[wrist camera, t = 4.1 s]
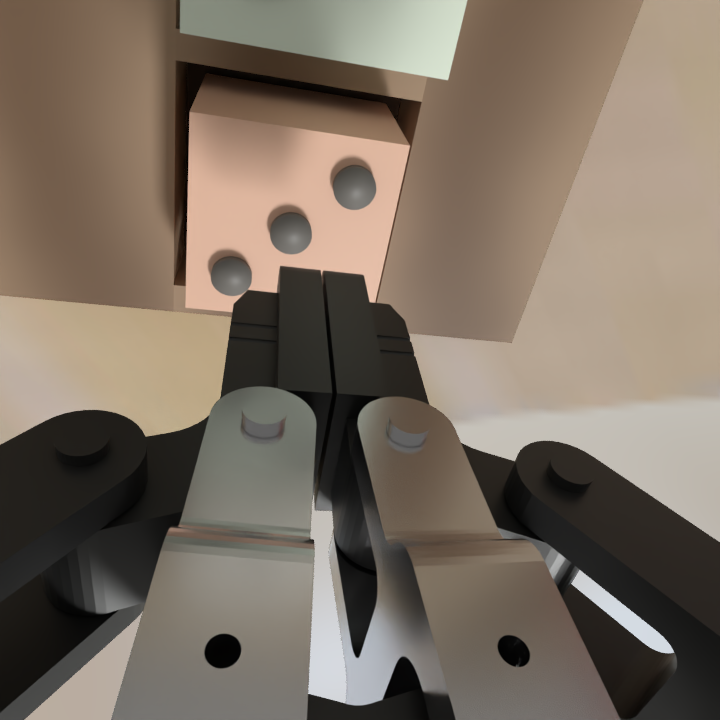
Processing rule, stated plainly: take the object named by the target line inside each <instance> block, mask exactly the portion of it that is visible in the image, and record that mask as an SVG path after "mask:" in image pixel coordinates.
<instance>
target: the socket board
mask: <svg viewBox="0 0 720 720" xmlns="http://www.w3.org/2000/svg"><path fill="white" fill-rule="evenodd" d="M642 2H643V0H467V4H466V8H465V12H464V16H463V21H462V25H461V29H460V33H459V37H458V41H457V45H456V49H455V54H454V58H453V62H452V66H451V70H450V74H449V78H448V80H443V79H438V78H432V77H426V76H421V75H415V74H410V73H404V72H398V71H393V70H387V69H381V68H376V67H370V66H364V65H359V64H353V63H348V62H342V61H336V60H331V59H325V58H319V57H314V56H308V55H302V54H297V53H291V52H286V51H280V50H274V49H269V48H263V47H257V46H252V45H246V44H240V43H235V42H229V41H224V40H218V39H212V38H207V37H201V36H195V35H190V34H184V33H180V0H0V295H2V296H13V297H24V298H35V299H45V300H56V301H67V302H78V303H88V304H99V305H110V306H121V307H131V308H142V309H153V310H164V311H174V312H185V313H196V314H207V315H217V316H228V317H232V312H225V311H214V310H204V309H193V308H185V303H186V255H187V248H184V218H185V163H186V107H187V62H189V63H195V64H201V65H207V66H213V67H219V68H225V69H230V70H236V71H242V72H248V73H254V74H260V75H266V76H272V77H278V78H284V79H290V80H296V81H302V82H307V83H313V84H319V85H325V86H331V87H337V88H343V89H349V90H355V91H361V92H367V93H373V94H379V95H384V96H390V97H396V98H402V100H401V104H400V109H399V114H398V119H397V124H398V126H399V127H400V129H401V131H402V132H403V134H404V136H405V138H406V139H407V141H408V143H409V145H410V148H409V153H408V157H407V162H406V166H405V171H404V175H403V180H402V184H401V189H400V193H399V198H398V202H397V207H396V211H395V216H394V220H393V225H392V229H391V234H390V238H389V243H388V247H387V252H386V256H385V261H384V265H383V270H382V274H381V279H380V283H379V288H378V292H377V297H376V301H375V303H383V304H390V305H391V306H392V307H393V309H394V310H395V311H396V312H397V313H398V314H399V315H400V316H401V317H402V318H403V319H404V320H405V323H406V326H407V330H408V333H411V334H422V335H433V336H443V337H454V338H465V339H476V340H486V341H497V342H508V343H512V341H513V338H514V335H515V333H516V330H517V328H518V325H519V322H520V320H521V317H522V314H523V312H524V309H525V307H526V304H527V301H528V299H529V296H530V294H531V291H532V288H533V286H534V283H535V281H536V278H537V275H538V273H539V270H540V268H541V265H542V262H543V260H544V257H545V255H546V252H547V249H548V247H549V244H550V242H551V239H552V236H553V234H554V231H555V229H556V226H557V223H558V221H559V218H560V216H561V213H562V210H563V208H564V205H565V203H566V200H567V197H568V195H569V192H570V190H571V187H572V184H573V182H574V179H575V177H576V174H577V171H578V169H579V166H580V164H581V161H582V158H583V156H584V153H585V151H586V148H587V145H588V143H589V140H590V138H591V135H592V132H593V130H594V127H595V125H596V122H597V119H598V117H599V114H600V112H601V109H602V106H603V104H604V101H605V99H606V96H607V93H608V91H609V88H610V86H611V83H612V80H613V78H614V75H615V73H616V70H617V67H618V65H619V62H620V60H621V57H622V54H623V52H624V49H625V47H626V44H627V41H628V39H629V36H630V34H631V31H632V28H633V26H634V23H635V21H636V18H637V15H638V13H639V10H640V8H641V5H642Z"/></svg>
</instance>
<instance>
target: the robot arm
mask: <svg viewBox="0 0 720 720" xmlns="http://www.w3.org/2000/svg"><path fill="white" fill-rule="evenodd" d="M313 495H314V502H315V510H320V511H332V513H333V526H334V528H333V533H332V538H331V542H330V547H329V561H330V568H331V574H332V581H333V588H334V594H335V601H336V607H337V613H338V621H339V627H340V633H341V640H342V646H343V653H344V660H345V667H346V681H347V690H346V704H345V703H341V702H337V701H333V700H330V699H326V698H322V697H318V696H314V695H311V694H308V685H309V663H310V642H311V621H312V598H313V579H314V578H313V577H314V553H315V552H314V550H315V548H314V540H313V539H310V531H311V514H312V500H313ZM579 570H581V571H582V572H583V573H585V574H586V575H587V576H589V577H590V578H591V579H592V580H594V581H595V582H596V583H597V584H599V585H600V586H601V587H602V588H604V589H605V590H606V591H607V592H609V593H610V594H611V595H612V596H614V597H615V598H616V599H617V600H619V601H620V602H621V603H622V604H624V605H625V606H626V607H627V608H629V609H630V610H631V611H633V612H634V613H635V614H636V615H637V616H639V617H640V618H641V619H642V620H644V621H645V622H646V623H648V624H649V625H650V626H651V627H653V628H654V629H655V630H656V631H658V632H659V633H660V634H661V635H662V636H663V637H664V638H665V639H666V640H667V641H668V643H669V644H670V645H671V647H672V648H673V650H674V652H675V653H671V654H666V653H661V652H658V651H655V650H653V649H651V648H649V647H648V646H647V645H645V644H644V643H642V642H641V641H640V640H639V639H638V638H636V637H635V636H634V635H633V634H632V633H630V632H629V631H628V630H627V629H625V628H624V627H623V626H622V625H620V624H619V623H618V622H617V621H616V620H614V619H613V618H612V617H611V616H609V615H608V614H607V613H606V612H605V611H603V610H602V609H601V608H600V607H599V606H597V605H596V604H595V603H594V602H592V601H591V600H590V599H589V598H588V597H586V596H585V595H584V594H583V593H581V592H580V591H579V590H578V589H577V588H575V587H574V586H573V585H572V584H571V583H572V581H573V580H574V578H575V576H576V575H577V573H578V571H579ZM142 611H143V613H142V616H141V620H140V623H139V627H138V630H137V633H136V637H135V640H134V643H133V647H132V650H131V654H130V657H129V661H128V664H127V667H126V671H125V674H124V678H123V681H122V684H121V688H120V691H119V695H118V698H117V701H116V705H115V708H114V712H113V715H112V719H111V720H720V542H718V541H717V540H715V539H713V538H712V537H711V536H709V535H708V534H706V533H705V532H704V531H702V530H700V529H699V528H697V527H696V526H695V525H693V524H692V523H690V522H689V521H687V520H686V519H684V518H683V517H681V516H680V515H678V514H677V513H675V512H674V511H672V510H671V509H669V508H668V507H667V506H665V505H664V504H662V503H661V502H659V501H658V500H656V499H655V498H653V497H652V496H650V495H649V494H647V493H646V492H644V491H643V490H641V489H640V488H638V487H637V486H635V485H634V484H633V483H631V482H629V481H628V480H627V479H625V478H624V477H622V476H621V475H619V474H618V473H616V472H615V471H613V470H612V469H610V468H609V467H607V466H606V465H604V464H603V463H601V462H600V461H598V460H597V459H596V458H594V457H592V456H591V455H589V454H588V453H586V452H584V451H582V450H580V449H578V448H576V447H573V446H571V445H568V444H563V443H560V442H554V441H539V442H534V443H530V444H529V445H527V446H525V447H524V448H523V449H522V450H520V452H519V454H518V456H517V458H516V460H515V461H512V460H508V459H505V458H501V457H498V456H495V455H491V454H488V453H485V452H482V451H479V450H476V449H473V448H470V447H468V446H466V445H464V444H462V443H461V442H460V440H459V437H458V435H457V433H456V430H455V428H454V427H453V425H452V423H451V422H450V421H449V419H448V418H447V417H446V416H445V415H444V414H443V413H441V412H440V411H439V410H437V409H436V408H434V407H432V406H430V405H429V402H428V399H427V395H426V392H425V388H424V385H423V381H422V378H421V375H420V371H419V368H418V364H417V361H416V357H415V356H414V350H413V347H412V343H411V342H410V336H409V333H408V330H407V326H406V323H405V320H404V319H403V318H402V317H401V316H400V315H399V314H398V313H397V312H396V311H395V310H394V309H393V307H392V306H391V305H390V304H383V303H373V302H370V301H369V297H368V292H367V287H366V283H365V278H364V275H362V274H353V273H344V272H335V271H326V270H323V272H322V275H321V270H315V269H306V268H297V267H288V266H280V269H279V276H278V285H277V293H274V292H264V291H254V290H247V291H246V292H245V293H244V294H243V295H242V296H241V297H240V298H239V299H238V300H237V301H236V302H235V303H234V304H233V312H232V319H231V326H230V333H229V340H228V348H227V355H226V362H225V369H224V376H223V383H222V391H221V397H220V399H219V400H218V401H217V402H216V403H215V405H214V406H213V407H212V410H211V412H210V415H209V416H208V417H207V418H206V419H204V420H202V421H201V422H199V423H198V424H195V425H193V426H191V427H189V428H186V429H183V430H180V431H176V432H171V433H166V434H160V435H154V436H148V437H145V435H144V433H143V431H142V430H141V429H140V427H139V426H138V425H137V424H136V423H134V422H133V421H132V420H130V419H128V418H127V417H125V416H122V415H119V414H117V413H113V412H108V411H101V410H83V411H74V412H70V413H65V414H62V415H59V416H56V417H53V418H51V419H49V420H47V421H44V422H43V423H41V424H39V425H37V426H35V427H33V428H31V429H29V430H27V431H26V432H24V433H22V434H20V435H18V436H16V437H14V438H12V439H10V440H9V441H7V442H5V443H3V444H1V445H0V720H24V719H25V718H26V717H28V716H29V715H30V714H31V713H32V712H33V711H34V710H35V709H36V708H38V707H39V706H40V705H41V704H42V703H43V702H44V701H45V700H46V699H48V698H49V697H50V696H51V695H52V694H53V693H54V692H55V691H56V690H57V689H59V688H60V687H61V686H62V685H63V684H64V683H65V682H66V681H68V680H69V679H70V678H71V677H72V676H73V675H74V674H75V673H76V672H78V671H79V670H80V669H81V668H82V667H83V666H84V665H85V664H86V663H88V661H90V660H91V659H92V658H93V657H94V656H95V655H96V654H97V653H99V652H100V651H101V650H102V649H103V648H104V647H105V646H106V645H107V644H108V643H110V642H111V641H112V640H113V639H114V638H115V637H116V636H117V635H119V634H120V633H121V632H122V631H123V630H124V629H125V628H126V627H127V626H129V625H130V624H131V623H132V622H133V621H134V620H135V619H136V618H137V617H138V616H139V615H140V614H141V612H142Z"/></svg>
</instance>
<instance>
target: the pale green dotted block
mask: <svg viewBox="0 0 720 720" xmlns="http://www.w3.org/2000/svg"><path fill="white" fill-rule="evenodd" d="M466 4H467V0H180V33H184V34H190V35H195V36H201V37H207V38H212V39H218V40H224V41H229V42H235V43H240V44H246V45H252V46H257V47H263V48H269V49H274V50H280V51H286V52H291V53H297V54H302V55H308V56H314V57H319V58H325V59H331V60H336V61H342V62H348V63H353V64H359V65H364V66H370V67H376V68H381V69H387V70H393V71H398V72H404V73H410V74H415V75H421V76H426V77H432V78H438V79H443V80H448V78H449V74H450V70H451V66H452V62H453V58H454V54H455V49H456V45H457V41H458V37H459V33H460V29H461V25H462V21H463V16H464V12H465V8H466Z"/></svg>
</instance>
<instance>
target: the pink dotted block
mask: <svg viewBox="0 0 720 720" xmlns="http://www.w3.org/2000/svg"><path fill="white" fill-rule="evenodd" d="M409 148H410V145H409V143H408V141H407V139H406V138H405V136H404V134H403V132H402V131H401V129H400V127H399V126H398V124H397V122H396V120H395V119H394V117H393V115H392V113H391V112H390V110H389V108H388V106H387V105H386V103H381V102H375V101H369V100H363V99H357V98H351V97H345V96H339V95H333V94H327V93H321V92H315V91H309V90H303V89H297V88H291V87H285V86H279V85H273V84H267V83H261V82H255V81H249V80H243V79H237V78H231V77H225V76H219V75H213V74H206V75H205V77H204V80H203V82H202V84H201V86H200V89H199V91H198V93H197V96H196V98H195V100H194V103H193V105H192V107H191V109H190V112H189V159H188V207H187V255H186V303H185V308H193V309H204V310H214V311H225V312H233V304H234V303H235V302H236V301H237V300H238V299H239V298H240V297H241V296H242V295H243V294H244V293H245V292H246V291H247V290H254V291H264V292H274V293H277V285H278V276H279V269H280V266H288V267H297V268H306V269H315V270H321V275H322V272H323V270H326V271H335V272H344V273H353V274H362V275H364V278H365V283H366V287H367V292H368V297H369V301H370V302H373V303H375V301H376V297H377V292H378V288H379V283H380V279H381V274H382V270H383V265H384V261H385V256H386V252H387V247H388V243H389V238H390V234H391V229H392V225H393V220H394V216H395V211H396V207H397V202H398V198H399V193H400V189H401V184H402V180H403V175H404V171H405V166H406V162H407V157H408V153H409Z"/></svg>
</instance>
